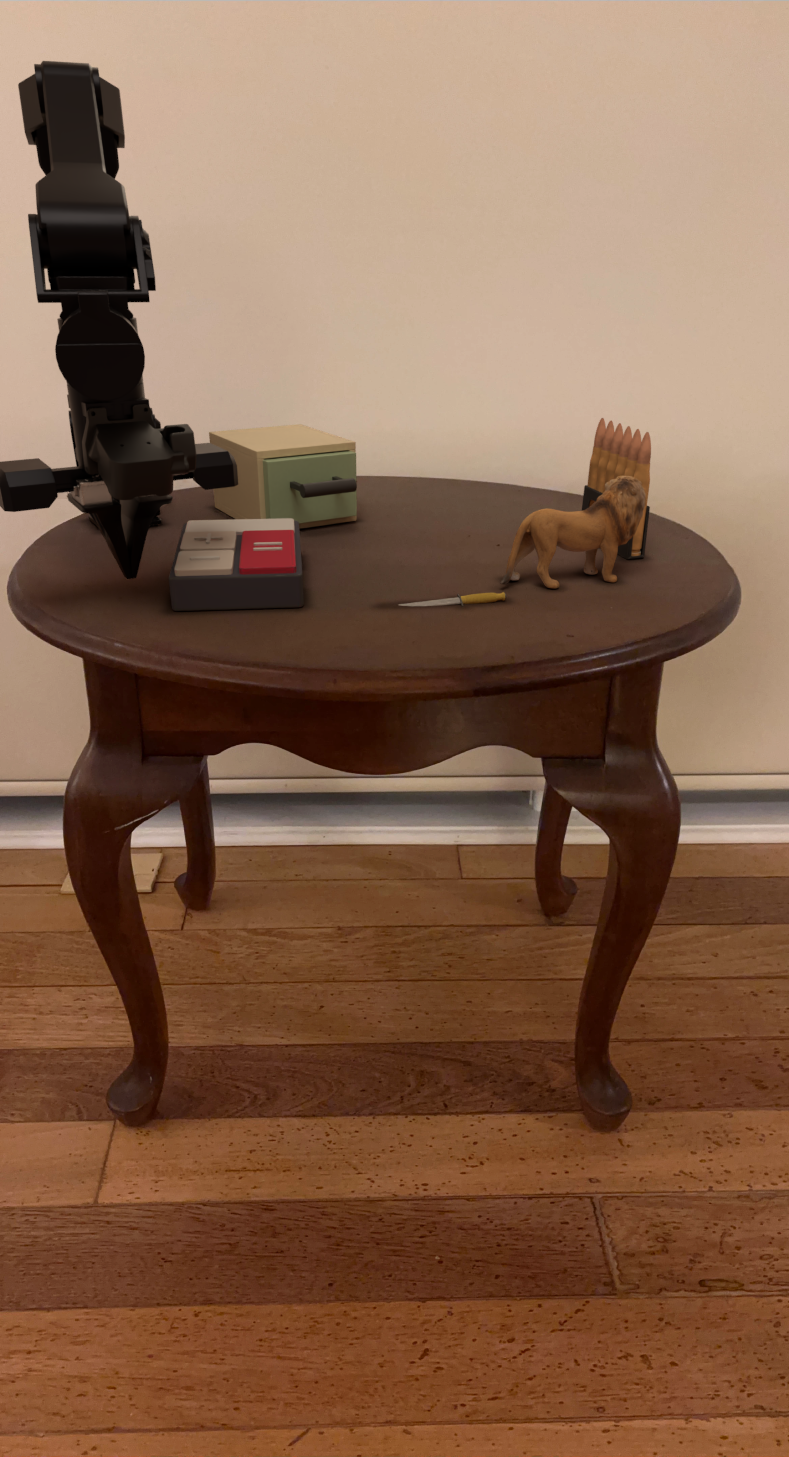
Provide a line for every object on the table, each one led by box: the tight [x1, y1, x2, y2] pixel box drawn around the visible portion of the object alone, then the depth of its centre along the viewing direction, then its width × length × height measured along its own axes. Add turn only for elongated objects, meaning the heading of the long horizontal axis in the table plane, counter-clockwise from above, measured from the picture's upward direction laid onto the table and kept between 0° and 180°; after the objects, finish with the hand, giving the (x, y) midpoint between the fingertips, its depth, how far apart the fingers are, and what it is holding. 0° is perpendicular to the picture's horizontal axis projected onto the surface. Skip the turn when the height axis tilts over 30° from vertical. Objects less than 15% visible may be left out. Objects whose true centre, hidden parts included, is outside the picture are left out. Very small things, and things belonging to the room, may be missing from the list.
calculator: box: [168, 518, 305, 612], centre depth 83 cm, size 11×4×15 cm
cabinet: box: [208, 423, 357, 530], centre depth 105 cm, size 14×12×9 cm
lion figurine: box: [499, 476, 646, 589], centre depth 83 cm, size 15×5×9 cm, turn 116°
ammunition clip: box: [581, 417, 652, 560], centre depth 93 cm, size 11×2×12 cm, turn 17°
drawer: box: [263, 451, 358, 524], centre depth 102 cm, size 17×10×7 cm, turn 31°
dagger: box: [398, 591, 507, 608], centre depth 79 cm, size 11×1×2 cm
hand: (130, 577), depth 79 cm, fingers closed
